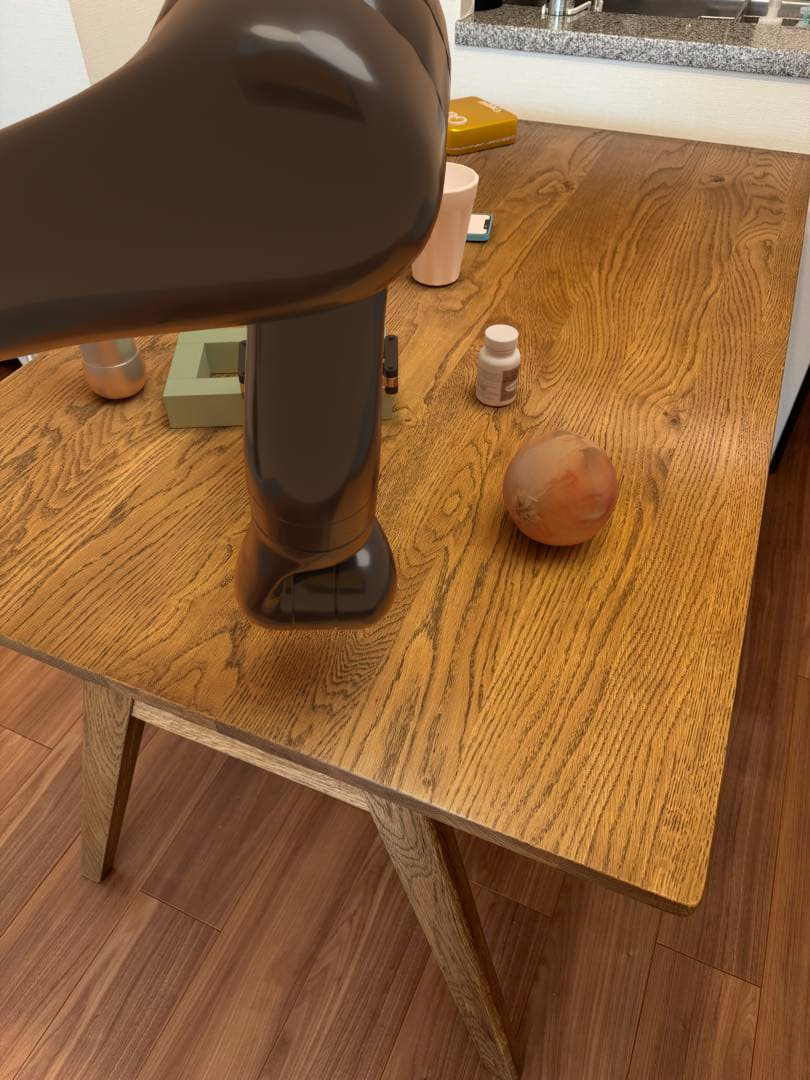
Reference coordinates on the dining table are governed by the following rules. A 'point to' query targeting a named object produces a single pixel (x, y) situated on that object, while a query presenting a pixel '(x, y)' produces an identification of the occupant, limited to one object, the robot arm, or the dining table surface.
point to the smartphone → (479, 227)
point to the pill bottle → (498, 366)
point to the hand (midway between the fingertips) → (320, 324)
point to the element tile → (478, 125)
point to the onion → (560, 488)
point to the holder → (212, 380)
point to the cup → (448, 229)
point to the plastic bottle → (113, 367)
